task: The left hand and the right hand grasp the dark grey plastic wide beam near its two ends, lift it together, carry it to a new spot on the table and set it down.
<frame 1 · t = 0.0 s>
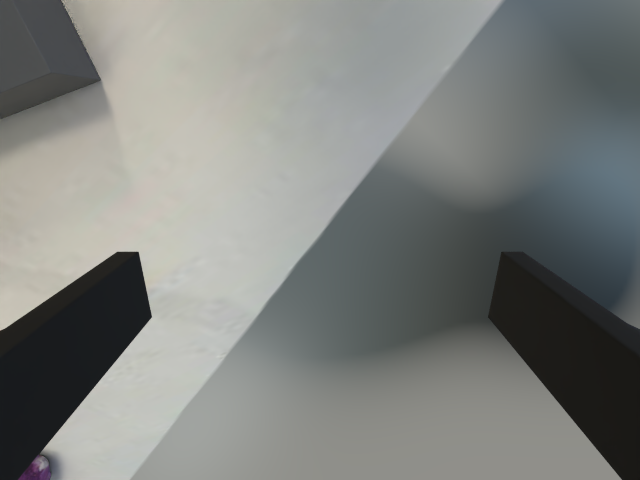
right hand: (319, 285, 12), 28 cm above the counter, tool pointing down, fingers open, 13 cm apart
figurine: (28, 466, 56), on the counter
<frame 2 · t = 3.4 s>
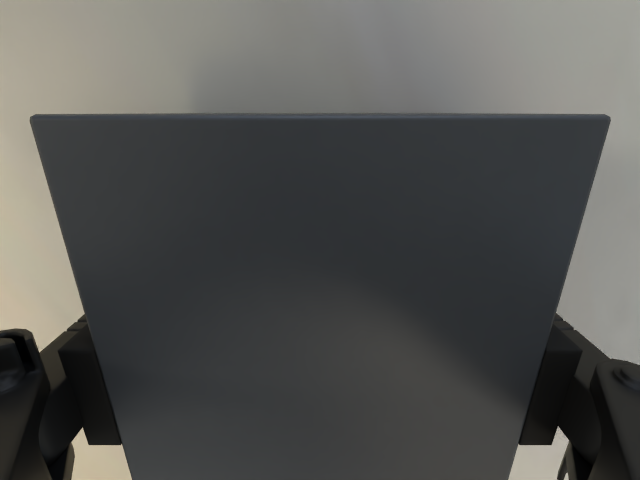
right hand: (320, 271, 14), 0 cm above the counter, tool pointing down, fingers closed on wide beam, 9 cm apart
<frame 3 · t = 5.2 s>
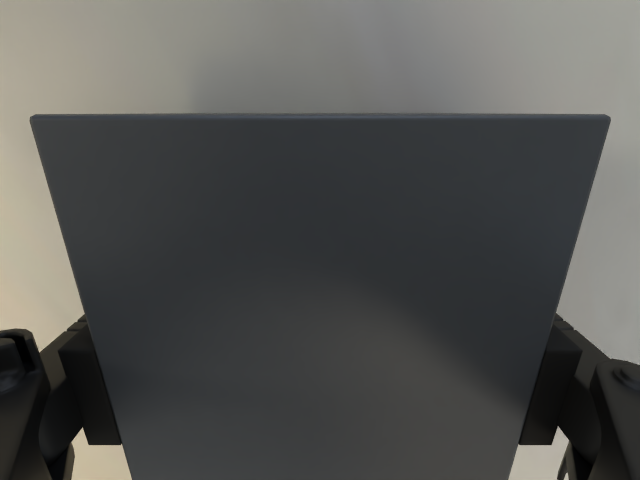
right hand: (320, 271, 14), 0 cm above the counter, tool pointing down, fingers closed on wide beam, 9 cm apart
when the left hand's fingers open (2 cm above the counter, at t = 9.7 s): wide beam drops 1 cm, on the counter.
when the right hand's fingers open (2 cm above the counter, at t = 9.7 s): wide beam drops 1 cm, on the counter.
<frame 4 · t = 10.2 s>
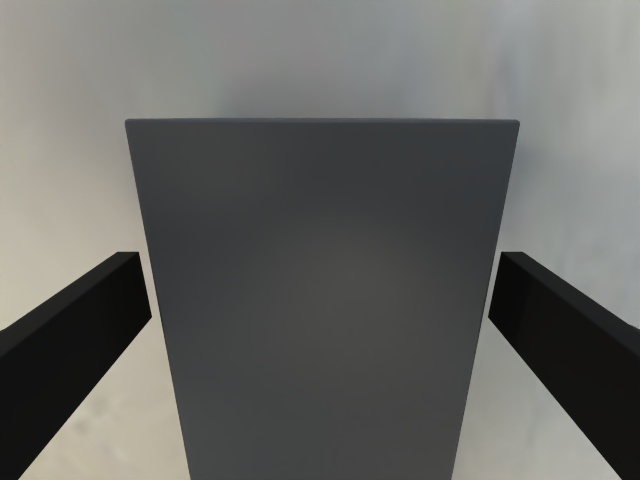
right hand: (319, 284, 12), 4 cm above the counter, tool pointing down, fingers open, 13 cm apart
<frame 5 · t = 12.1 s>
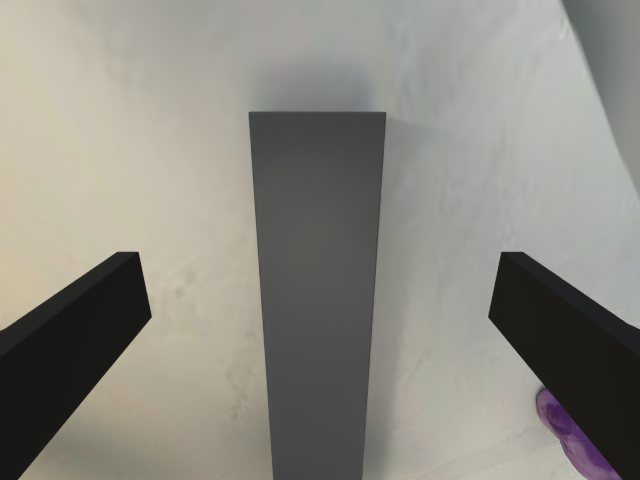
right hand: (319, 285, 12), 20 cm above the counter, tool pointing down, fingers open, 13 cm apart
wide beam: (317, 353, 39), on the counter
figurine: (569, 404, 41), on the counter
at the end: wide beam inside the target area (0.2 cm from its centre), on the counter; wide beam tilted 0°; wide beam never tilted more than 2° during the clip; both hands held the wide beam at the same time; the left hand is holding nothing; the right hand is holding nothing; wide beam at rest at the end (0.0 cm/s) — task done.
